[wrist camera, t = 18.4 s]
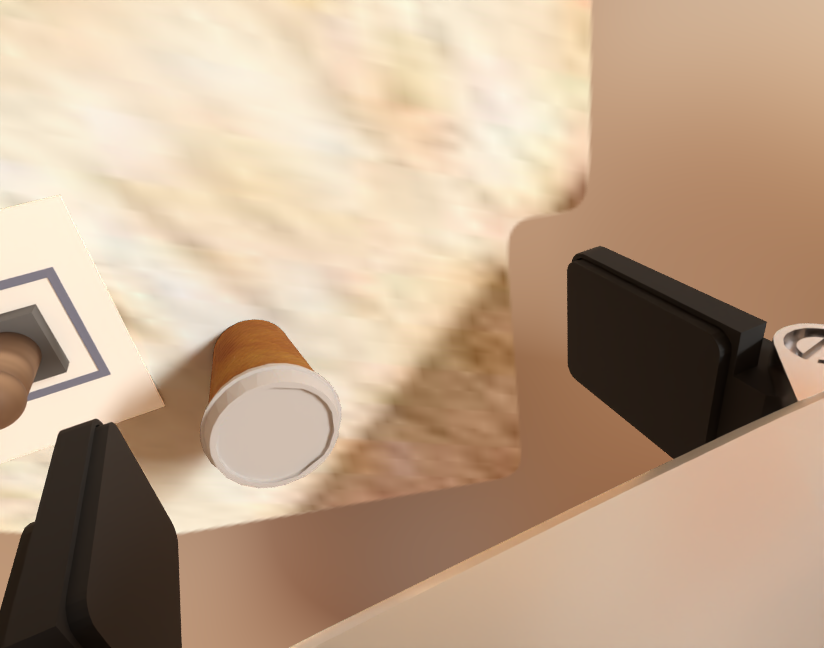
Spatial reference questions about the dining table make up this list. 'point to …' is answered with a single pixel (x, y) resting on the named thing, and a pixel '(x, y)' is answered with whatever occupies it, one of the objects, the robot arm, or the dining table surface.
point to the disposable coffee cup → (266, 409)
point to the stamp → (25, 359)
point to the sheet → (67, 329)
